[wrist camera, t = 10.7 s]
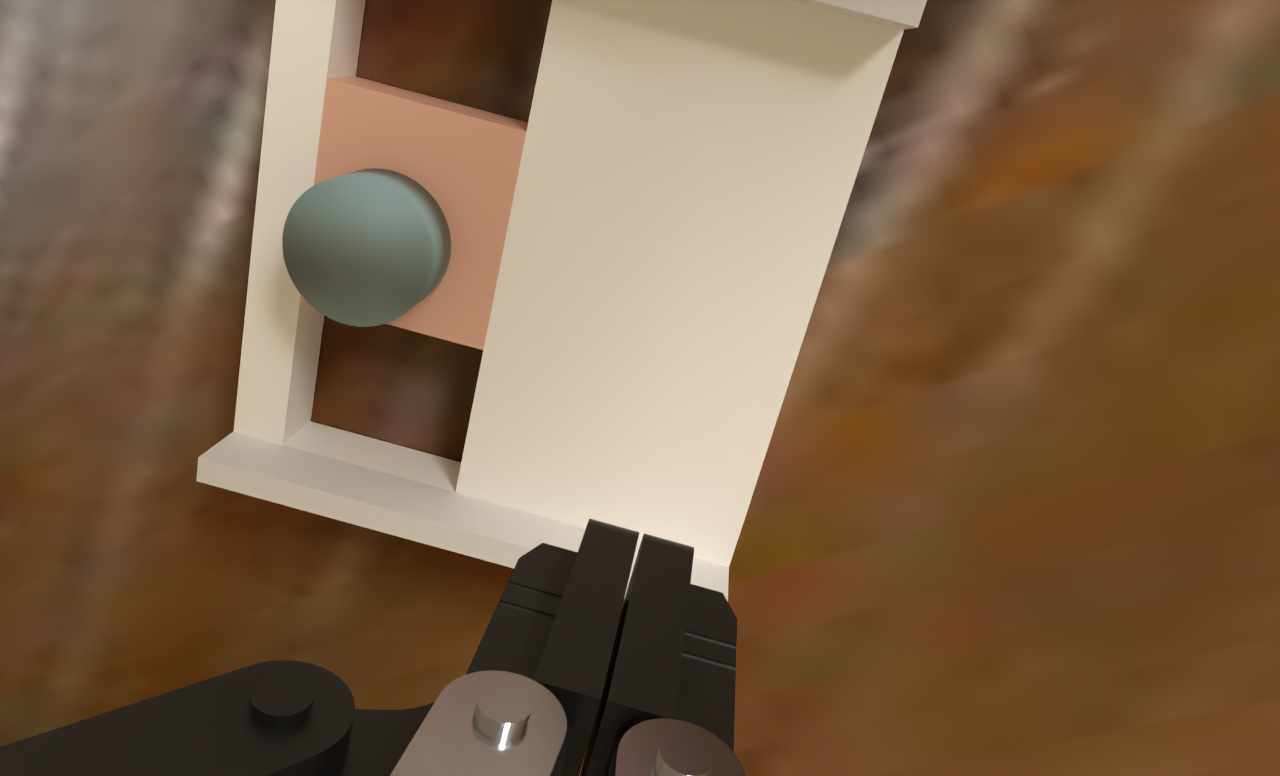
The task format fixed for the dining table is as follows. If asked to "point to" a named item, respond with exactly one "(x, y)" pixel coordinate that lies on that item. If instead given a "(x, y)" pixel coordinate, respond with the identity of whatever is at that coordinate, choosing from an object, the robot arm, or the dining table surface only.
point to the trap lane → (573, 267)
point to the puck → (366, 246)
